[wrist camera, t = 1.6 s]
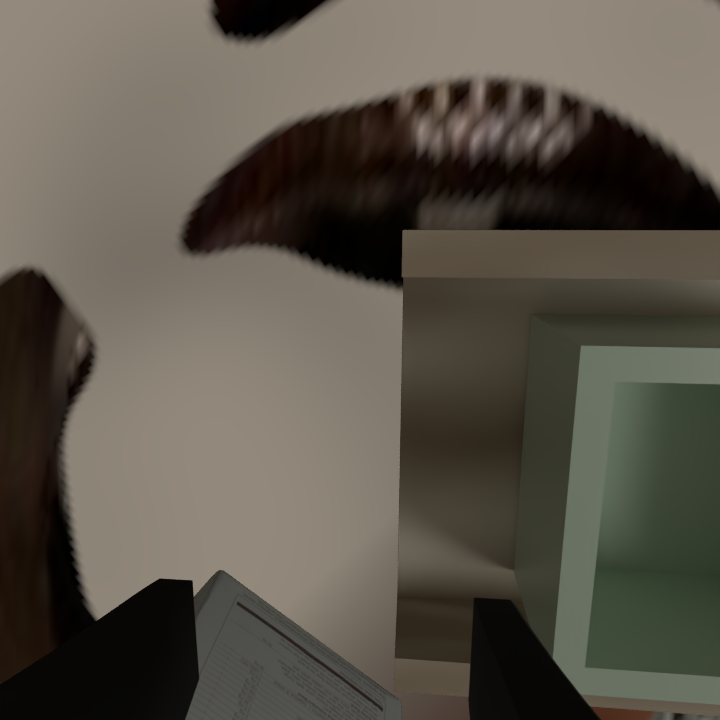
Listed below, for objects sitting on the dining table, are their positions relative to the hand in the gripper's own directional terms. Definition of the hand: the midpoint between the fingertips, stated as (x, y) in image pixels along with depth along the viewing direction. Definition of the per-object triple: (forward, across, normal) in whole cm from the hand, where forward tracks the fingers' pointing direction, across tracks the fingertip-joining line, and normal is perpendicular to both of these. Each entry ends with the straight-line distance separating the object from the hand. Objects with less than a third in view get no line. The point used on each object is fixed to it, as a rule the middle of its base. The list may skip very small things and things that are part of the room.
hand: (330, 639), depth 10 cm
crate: (+9, -9, 0) cm, 13 cm away
